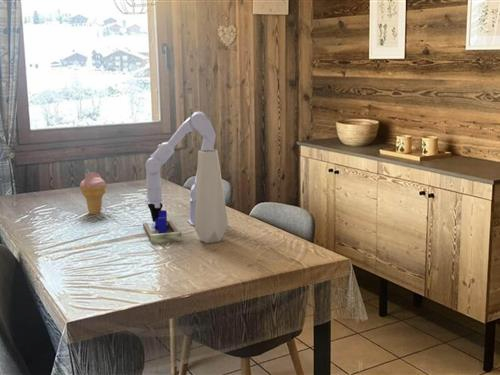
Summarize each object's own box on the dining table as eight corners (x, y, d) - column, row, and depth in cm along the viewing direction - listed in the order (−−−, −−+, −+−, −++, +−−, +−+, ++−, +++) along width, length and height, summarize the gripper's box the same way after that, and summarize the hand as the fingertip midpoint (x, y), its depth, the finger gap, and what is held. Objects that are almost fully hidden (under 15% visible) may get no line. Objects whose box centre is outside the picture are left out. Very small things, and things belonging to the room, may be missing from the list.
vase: (232, 236, 225) (231, 148, 218) (221, 245, 214) (218, 153, 207) (202, 233, 229) (199, 147, 222) (189, 242, 218) (186, 152, 211)
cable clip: (155, 225, 241) (154, 210, 240) (167, 224, 242) (166, 210, 240) (154, 234, 229) (153, 218, 228) (166, 233, 230) (165, 218, 229)
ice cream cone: (76, 214, 258) (73, 168, 254) (92, 208, 268) (89, 164, 264) (98, 217, 254) (94, 170, 250) (113, 210, 264) (110, 165, 260)
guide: (171, 225, 241) (170, 217, 240) (181, 240, 221) (181, 232, 220) (143, 227, 238) (142, 220, 237) (151, 243, 218) (150, 235, 217)
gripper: (141, 185, 245) (143, 217, 248) (146, 192, 232) (148, 227, 235) (159, 183, 247) (160, 216, 250) (164, 191, 234) (166, 225, 237)
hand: (155, 221), depth 243 cm, fingers closed
